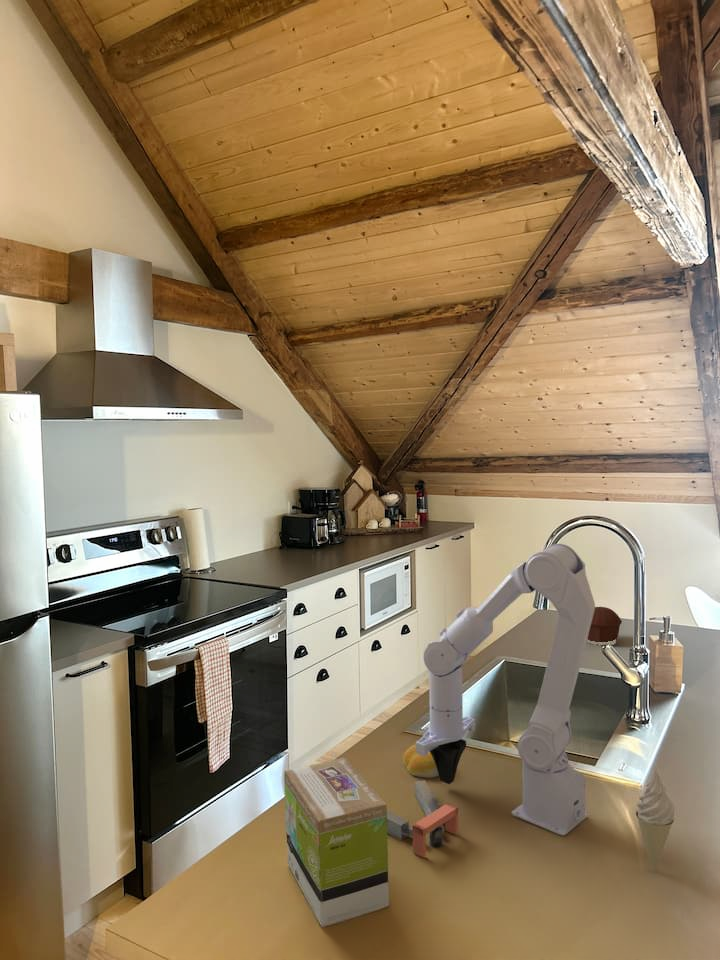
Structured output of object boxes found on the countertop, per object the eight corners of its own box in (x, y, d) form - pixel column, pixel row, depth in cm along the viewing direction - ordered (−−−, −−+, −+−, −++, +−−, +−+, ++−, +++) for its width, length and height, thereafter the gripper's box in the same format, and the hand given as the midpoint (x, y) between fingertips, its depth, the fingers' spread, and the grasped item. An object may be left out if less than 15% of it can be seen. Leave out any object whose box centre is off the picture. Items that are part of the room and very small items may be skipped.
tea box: (284, 866, 106) (282, 768, 105) (348, 849, 110) (346, 754, 109) (320, 931, 92) (317, 818, 91) (391, 909, 96) (389, 801, 95)
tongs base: (445, 843, 110) (445, 828, 110) (429, 854, 108) (429, 839, 108) (369, 806, 122) (368, 792, 121) (352, 815, 119) (352, 801, 119)
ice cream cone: (670, 886, 99) (671, 780, 98) (631, 874, 102) (632, 771, 101) (676, 867, 104) (677, 765, 103) (638, 856, 106) (639, 757, 105)
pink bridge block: (458, 833, 113) (458, 807, 113) (423, 857, 107) (423, 830, 106) (448, 828, 114) (447, 802, 114) (413, 852, 108) (412, 825, 108)
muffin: (577, 635, 218) (578, 603, 217) (615, 636, 216) (616, 603, 216) (586, 647, 206) (586, 613, 205) (626, 648, 205) (626, 613, 204)
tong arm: (449, 836, 112) (449, 822, 112) (438, 837, 112) (438, 823, 112) (424, 792, 126) (424, 780, 125) (414, 793, 125) (414, 781, 125)
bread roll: (414, 782, 130) (414, 761, 130) (398, 761, 139) (398, 740, 138) (456, 776, 132) (456, 754, 132) (438, 755, 141) (438, 735, 141)
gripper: (452, 688, 134) (453, 760, 135) (401, 711, 124) (402, 788, 125) (484, 698, 129) (484, 772, 130) (433, 723, 119) (434, 802, 120)
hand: (446, 781), depth 127 cm, fingers closed
